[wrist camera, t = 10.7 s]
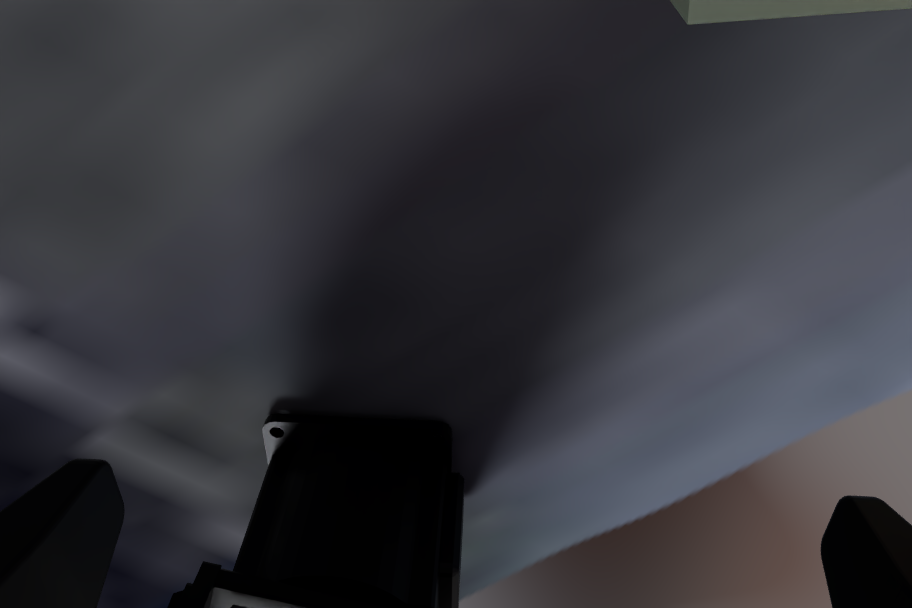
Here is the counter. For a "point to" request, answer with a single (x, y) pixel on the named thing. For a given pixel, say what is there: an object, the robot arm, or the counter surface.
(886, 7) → the sage slab
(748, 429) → the counter surface
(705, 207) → the counter surface
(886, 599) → the robot arm
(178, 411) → the counter surface
